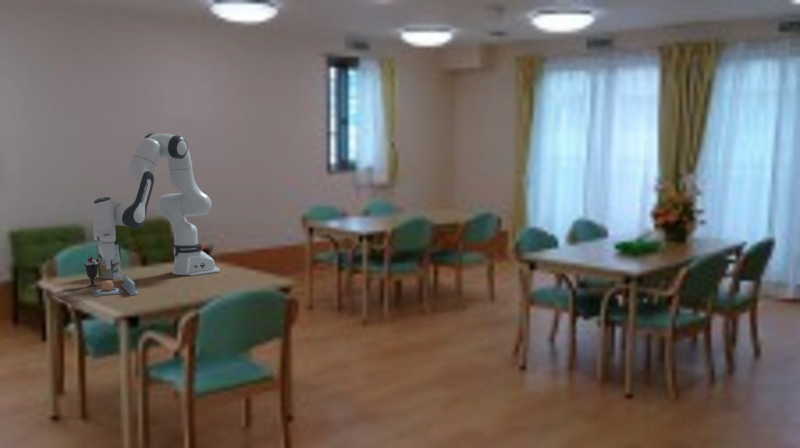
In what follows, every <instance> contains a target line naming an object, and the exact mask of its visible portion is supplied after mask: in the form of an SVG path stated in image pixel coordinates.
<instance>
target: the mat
mask: <svg viewBox="0 0 800 448" xmlns="http://www.w3.org/2000/svg"><path fill="white" fill-rule="evenodd" d="M90 291H91V293H92V294H93V296H94V297H104V296H105V297H106V296H114V295H115V294H116V295H124V293H125V292H126V291H124V290H123V289H122V288H121V287H114V288H113V289H112V290H111V291H109V292H106V291H104V290H103V289H102V288H99V289H92V290H90ZM125 294H126V293H125Z"/></svg>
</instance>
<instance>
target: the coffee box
mask: <svg viewBox="0 0 800 448" xmlns="http://www.w3.org/2000/svg"><path fill="white" fill-rule="evenodd" d="M96 253H97V255H96V256H97V260H98V263H99V265H98V270H97V274H98V278H99V279H105V280H116V279H119V278H120V279H121V278H122V277H123V275H122V274H123V273H122V256H121V244H120V243H114V259H113V260H111V269H106V265H103V261H102V256H101V255H100V253H99V250H98V244H96Z"/></svg>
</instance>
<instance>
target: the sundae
mask: <svg viewBox="0 0 800 448" xmlns="http://www.w3.org/2000/svg"><path fill="white" fill-rule="evenodd" d="M98 265H99V263H98V258H94V257H93V256H91V255H90V254H88V258H87V261H86V262H85V263H84V264H83V266H84V267H85V271H86V276H87V277H88V278H89V279H90V284H88V285H87V286H86V287H87V288H97V287H99V284H95V281H94V280H95V278H96V277H97V276H98Z"/></svg>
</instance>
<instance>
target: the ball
mask: <svg viewBox="0 0 800 448" xmlns="http://www.w3.org/2000/svg"><path fill="white" fill-rule="evenodd" d="M113 288H115V284H114V282H113V281H112V280H111V279H105V280H104V281H103V282H102V283H101V289H103V290H104V291H106V292H109V291H111V290H112V289H113Z"/></svg>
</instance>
